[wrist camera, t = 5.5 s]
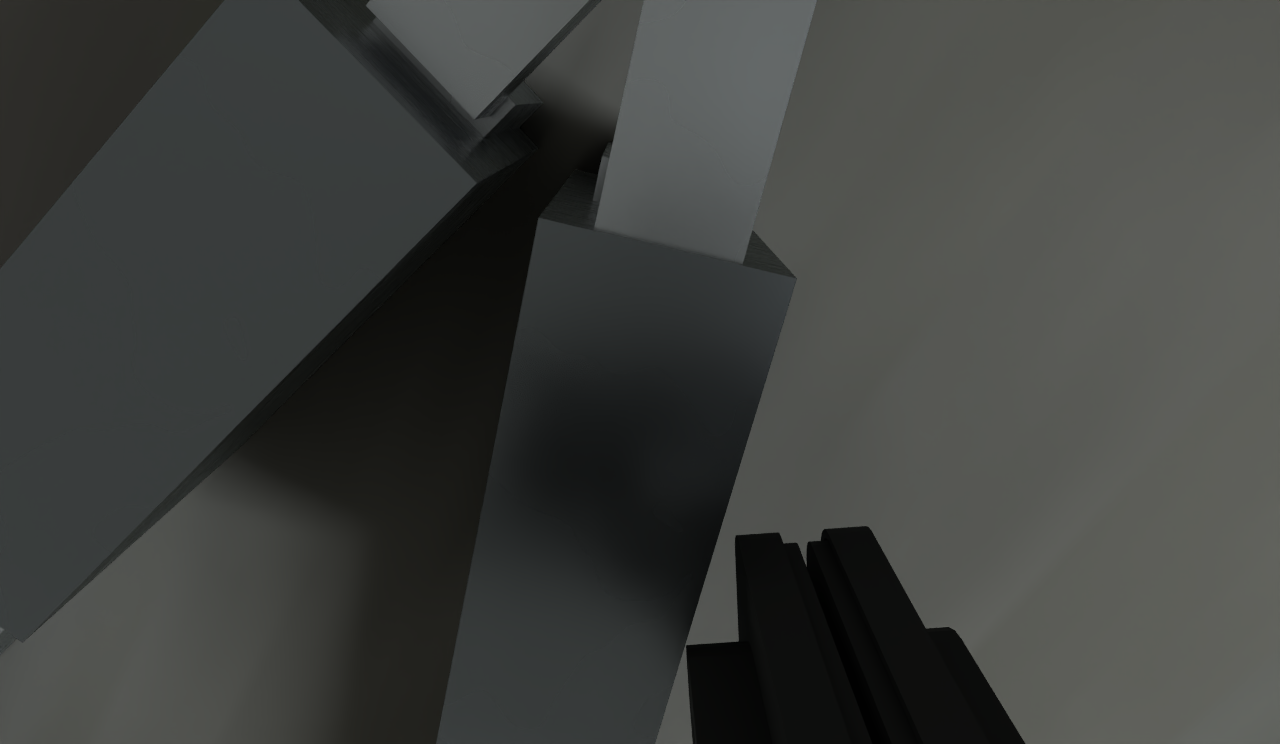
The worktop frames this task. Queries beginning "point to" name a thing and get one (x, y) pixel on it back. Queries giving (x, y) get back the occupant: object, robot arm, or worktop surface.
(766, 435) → the worktop surface
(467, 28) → the tongs fixed
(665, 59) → the tongs jaw
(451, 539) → the worktop surface
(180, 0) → the worktop surface
